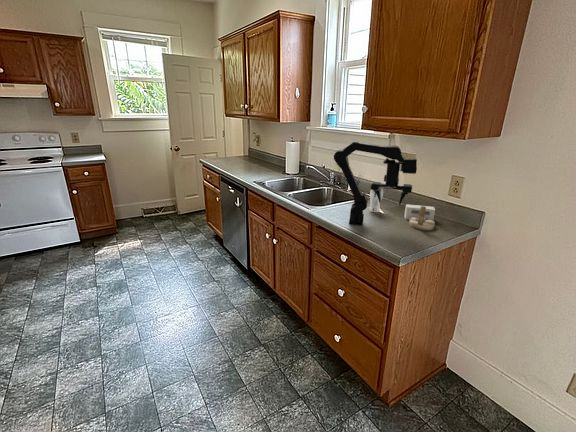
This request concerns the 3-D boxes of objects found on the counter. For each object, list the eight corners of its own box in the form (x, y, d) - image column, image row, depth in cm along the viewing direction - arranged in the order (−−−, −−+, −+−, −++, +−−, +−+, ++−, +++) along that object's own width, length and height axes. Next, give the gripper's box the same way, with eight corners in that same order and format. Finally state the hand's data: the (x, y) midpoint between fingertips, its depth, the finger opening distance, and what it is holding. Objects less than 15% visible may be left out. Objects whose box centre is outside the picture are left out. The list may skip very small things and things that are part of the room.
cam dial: (411, 219, 168) (415, 199, 164) (435, 224, 162) (440, 203, 158) (406, 226, 159) (410, 205, 155) (431, 232, 152) (436, 209, 148)
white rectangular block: (405, 220, 168) (407, 207, 165) (404, 216, 173) (406, 204, 171) (433, 222, 165) (435, 210, 163) (431, 218, 170) (433, 206, 168)
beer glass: (382, 210, 181) (386, 185, 176) (377, 213, 176) (380, 188, 171) (371, 208, 185) (374, 183, 180) (365, 210, 180) (368, 185, 175)
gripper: (414, 170, 153) (410, 201, 158) (375, 168, 160) (373, 197, 165) (413, 175, 143) (409, 207, 148) (371, 172, 150) (369, 203, 156)
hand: (389, 204), depth 155 cm, fingers open, 9 cm apart
